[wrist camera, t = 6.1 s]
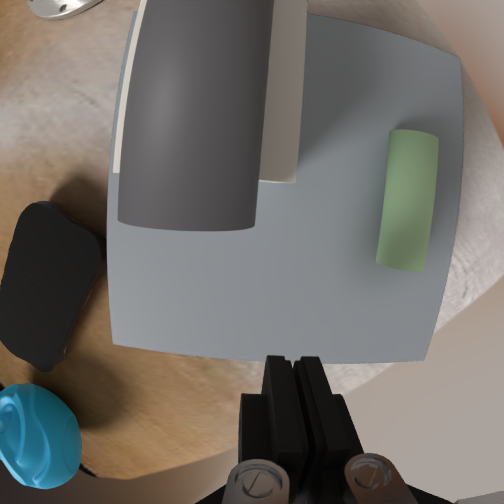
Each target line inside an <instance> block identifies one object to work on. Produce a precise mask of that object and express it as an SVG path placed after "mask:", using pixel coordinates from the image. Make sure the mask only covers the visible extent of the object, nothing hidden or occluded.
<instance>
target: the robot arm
mask: <svg viewBox="0 0 504 504" xmlns="http://www.w3.org/2000/svg"><path fill="white" fill-rule="evenodd" d="M100 1H102V0H28V6H29V8H30V10H31V11H32V12H33V13H34V14H35V15H37V16H39V17H40V18H42V19H46V20H59V19H64V18H68V17H71V16H73V15H76V14H79V13H81V12H83V11H85V10H87V9H89V8H91V7H92V6H94V5H95V4H97V3H98V2H100ZM195 504H504V491H500V492H496V493H491V494H486V495H482V496H477V497H472V498H467V499H460V500H457V501H456V502H455V503H451V502H450V501H448V500H445V499H442V498H440V497H437V496H434V495H432V494H429V493H427V492H424V491H422V490H420V489H417V488H415V487H412V486H410V485H408V484H406V483H405V482H404V480H403V479H402V477H401V475H400V474H399V472H398V471H397V469H396V468H395V466H394V465H393V464H392V462H391V461H390V460H388V459H387V458H385V457H384V456H381V455H378V454H374V453H364V451H363V448H362V446H361V443H360V440H359V438H358V435H357V432H356V430H355V427H354V424H353V422H352V419H351V416H350V414H349V411H348V409H347V406H346V403H345V401H344V398H343V396H342V395H341V394H332V392H331V389H330V386H329V383H328V380H327V377H326V375H325V372H324V369H323V366H322V363H321V361H320V358H319V357H318V356H302V357H301V358H300V360H295V362H294V365H293V368H292V364H291V361H290V360H285V357H284V356H280V355H267V357H266V362H265V370H264V377H263V384H262V392H261V394H244V393H242V394H241V402H240V413H239V438H238V464H237V465H236V466H235V467H234V468H233V469H232V470H231V472H230V474H229V476H228V480H227V484H226V485H224V486H223V487H221V488H219V489H218V490H216V491H215V492H213V493H212V494H210V495H209V496H207V497H205V498H204V499H202V500H200V501H199V502H197V503H195Z"/></svg>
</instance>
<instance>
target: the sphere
mask: <svg viewBox="0 0 504 504" xmlns="http://www.w3.org/2000/svg"><path fill="white" fill-rule="evenodd" d="M81 451H82V443H81V435H80V430H79V425H78V422H77V419H76V417H75V415H74V414H73V412H72V411H71V410H70V409H69V407H68V406H67V405H66V404H65V403H64V402H63V401H62V400H61V399H60V398H58V397H57V396H56V395H55V394H53V393H52V392H50V391H48V390H46V389H44V388H42V387H40V386H37V385H34V384H31V383H26V384H14V385H10V386H8V387H7V388H5V389H4V390H3V391H1V392H0V459H1V460H2V461H3V462H4V464H5V465H6V467H7V468H8V470H9V471H10V473H11V474H12V475H13V477H14V478H15V479H16V480H18V481H19V482H20V483H22V484H23V485H27V486H32V487H36V488H41V489H49V488H54V487H57V486H59V485H62V484H63V483H65V482H67V481H68V480H69V479H71V478H72V477H73V476H74V475H75V473H76V472H77V470H78V468H79V464H80V459H81Z"/></svg>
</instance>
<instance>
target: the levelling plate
mask: <svg viewBox="0 0 504 504" xmlns="http://www.w3.org/2000/svg"><path fill="white" fill-rule="evenodd" d="M463 142H464V113H463V89H462V75H461V64H460V58H459V57H456V56H454V55H452V54H449V53H447V52H445V51H442V50H440V49H437V48H435V47H432V46H430V45H427V44H424V43H421V42H419V41H416V40H413V39H410V38H407V37H404V36H401V35H398V34H395V33H391V32H388V31H385V30H381V29H378V28H374V27H370V26H366V25H362V24H358V23H354V22H350V21H345V20H341V19H336V18H331V17H325V16H320V15H314V14H308V13H307V0H141V2H140V6H139V10H138V11H134V14H133V18H132V22H131V26H130V30H129V35H128V39H127V44H126V48H125V53H124V58H123V63H122V68H121V74H120V80H119V86H118V92H117V99H116V106H115V113H114V121H113V130H112V139H111V150H110V162H109V177H108V198H107V270H108V291H109V306H110V318H111V329H112V338H113V344H116V345H122V346H128V347H134V348H140V349H146V350H153V351H160V352H167V353H175V354H183V355H191V356H200V357H210V358H221V359H232V360H245V361H260V362H266V357H267V355H280V356H284V357H285V360H290V361H291V363H294V362H295V360H300V358H301V357H302V356H318V357H319V358H320V361H321V363H322V364H360V363H390V362H408V361H422V360H425V357H426V354H427V351H428V348H429V344H430V341H431V338H432V335H433V332H434V328H435V325H436V321H437V318H438V314H439V310H440V306H441V302H442V298H443V294H444V290H445V286H446V281H447V277H448V272H449V267H450V262H451V257H452V251H453V246H454V240H455V233H456V226H457V219H458V211H459V203H460V193H461V182H462V167H463Z"/></svg>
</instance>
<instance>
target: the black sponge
mask: <svg viewBox="0 0 504 504" xmlns="http://www.w3.org/2000/svg"><path fill="white" fill-rule="evenodd" d="M106 271H107V240H106V239H105V238H104V237H102V236H101V235H99V234H98V233H97V232H96V231H95V230H93V229H91V228H89V227H87V226H86V225H84V224H82V223H79V222H77V221H75V220H74V219H72V218H71V217H70V216H69V215H68V214H67V213H65V212H64V211H63V209H62V208H61V207H60V206H59V205H58V204H57V203H53V202H49V201H39V202H36V203H32V204H30V205H29V206H27V207H26V208H25V210H24V211H23V212H22V213H21V215H20V217H19V219H18V222H17V225H16V228H15V231H14V235H13V240H12V242H11V244H10V248H9V252H8V257H7V261H6V264H5V268H4V274H3V278H2V280H1V285H0V340H1V342H2V343H3V344H4V346H5V347H6V348H7V349H8V350H9V351H10V352H11V353H12V354H14V355H15V356H17V357H19V358H21V359H23V360H25V361H27V362H28V363H30V364H32V365H33V366H34V367H36V368H37V369H39V370H41V371H42V372H50V371H51V370H52V369H53V368H54V366H55V365H56V364H57V363H59V362H61V361H63V359H64V358H65V351H66V348H67V345H68V342H69V340H70V337H71V335H72V332H73V330H74V328H75V325H76V323H77V321H78V318H79V315H80V313H81V311H82V310H83V307H84V306H85V304H86V301H87V300H88V299H89V296H90V293H91V291H92V289H93V286H94V284H95V282H96V281H97V280H98V278H100V277H101V276H102V275H103V274H104V273H105V272H106Z"/></svg>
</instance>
